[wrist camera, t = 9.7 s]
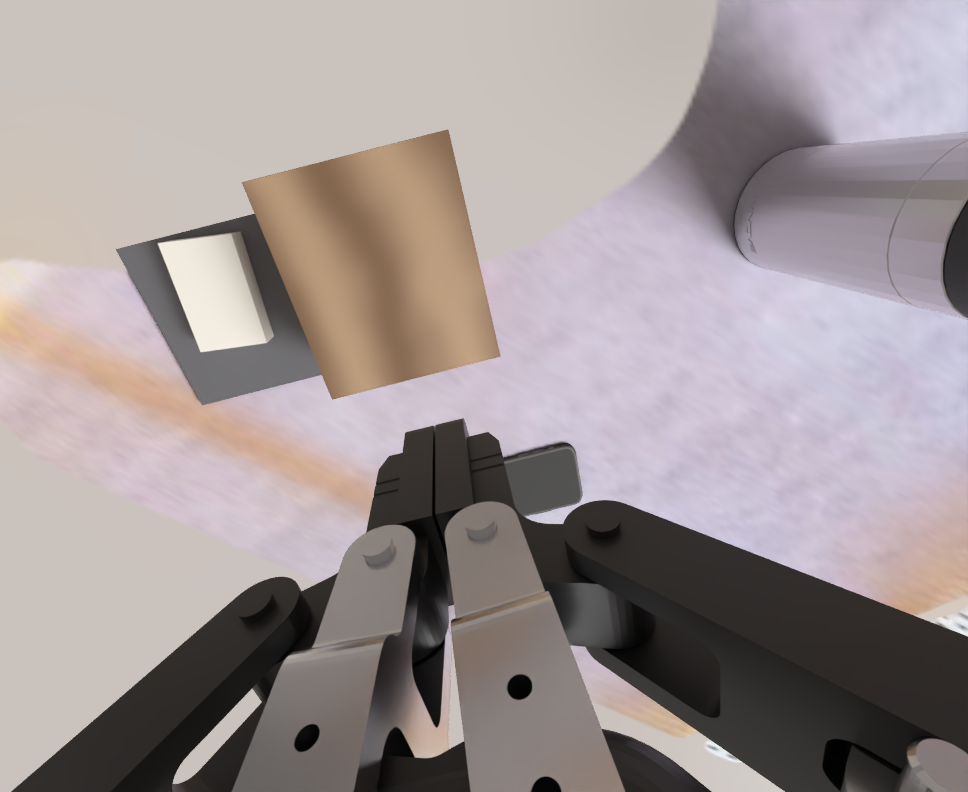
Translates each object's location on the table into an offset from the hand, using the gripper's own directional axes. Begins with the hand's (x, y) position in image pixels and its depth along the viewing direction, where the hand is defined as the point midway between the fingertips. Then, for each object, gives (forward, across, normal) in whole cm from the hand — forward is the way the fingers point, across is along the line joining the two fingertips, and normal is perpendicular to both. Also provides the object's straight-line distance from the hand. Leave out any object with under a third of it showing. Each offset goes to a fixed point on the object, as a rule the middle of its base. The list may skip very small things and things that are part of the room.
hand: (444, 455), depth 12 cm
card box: (+25, +16, -2) cm, 30 cm away
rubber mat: (+28, +16, -1) cm, 32 cm away
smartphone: (+28, -1, +22) cm, 36 cm away
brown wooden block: (+28, +3, -2) cm, 28 cm away
